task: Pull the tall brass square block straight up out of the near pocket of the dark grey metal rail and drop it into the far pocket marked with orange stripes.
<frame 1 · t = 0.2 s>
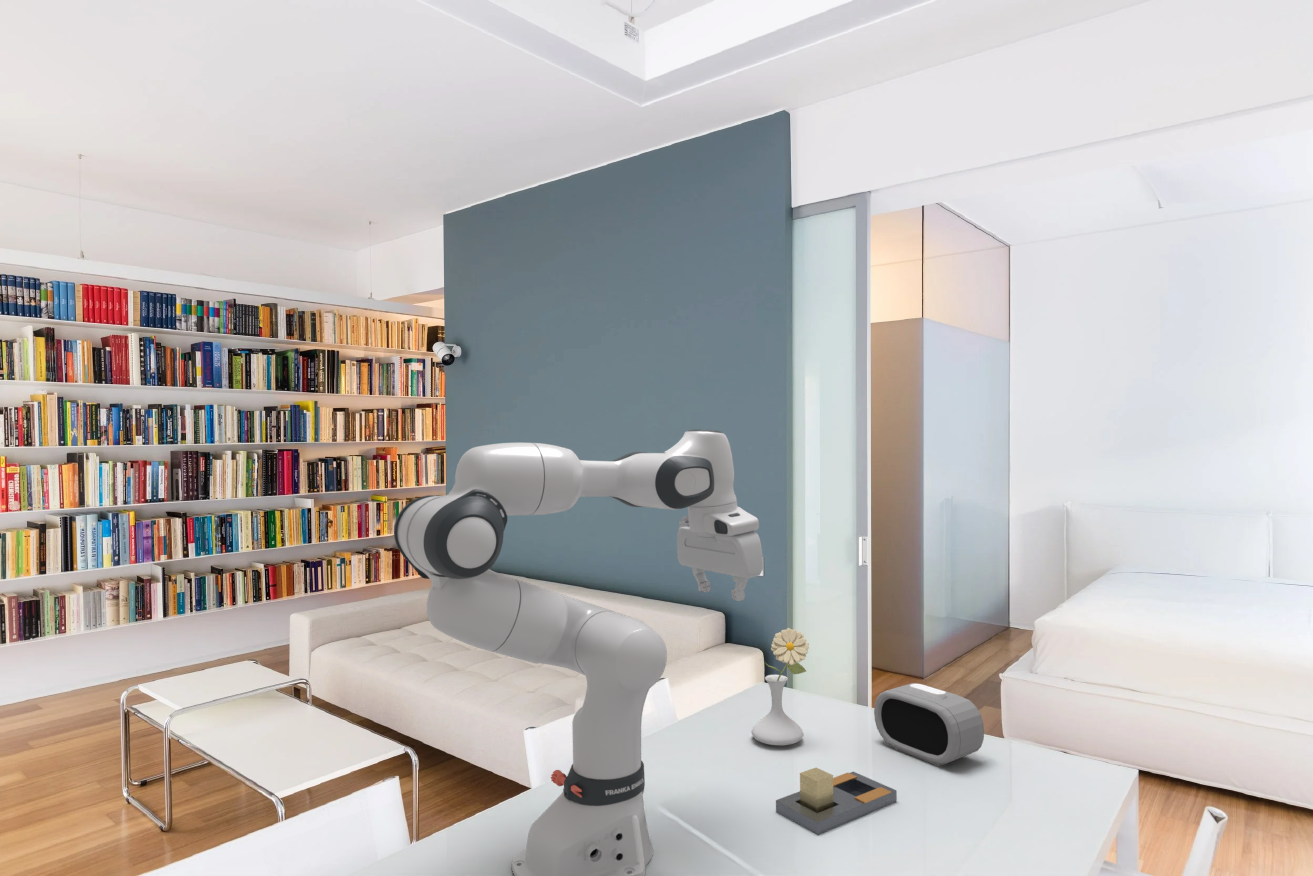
hand: (721, 595, 138), 39 cm above the table, tool pointing down, fingers open, 8 cm apart
flower in vase: (781, 742, 171), on the table
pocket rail: (837, 812, 137), on the table
alarm clock: (927, 754, 163), on the table
brass block: (817, 814, 134), point 1 cm above the table, touching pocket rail
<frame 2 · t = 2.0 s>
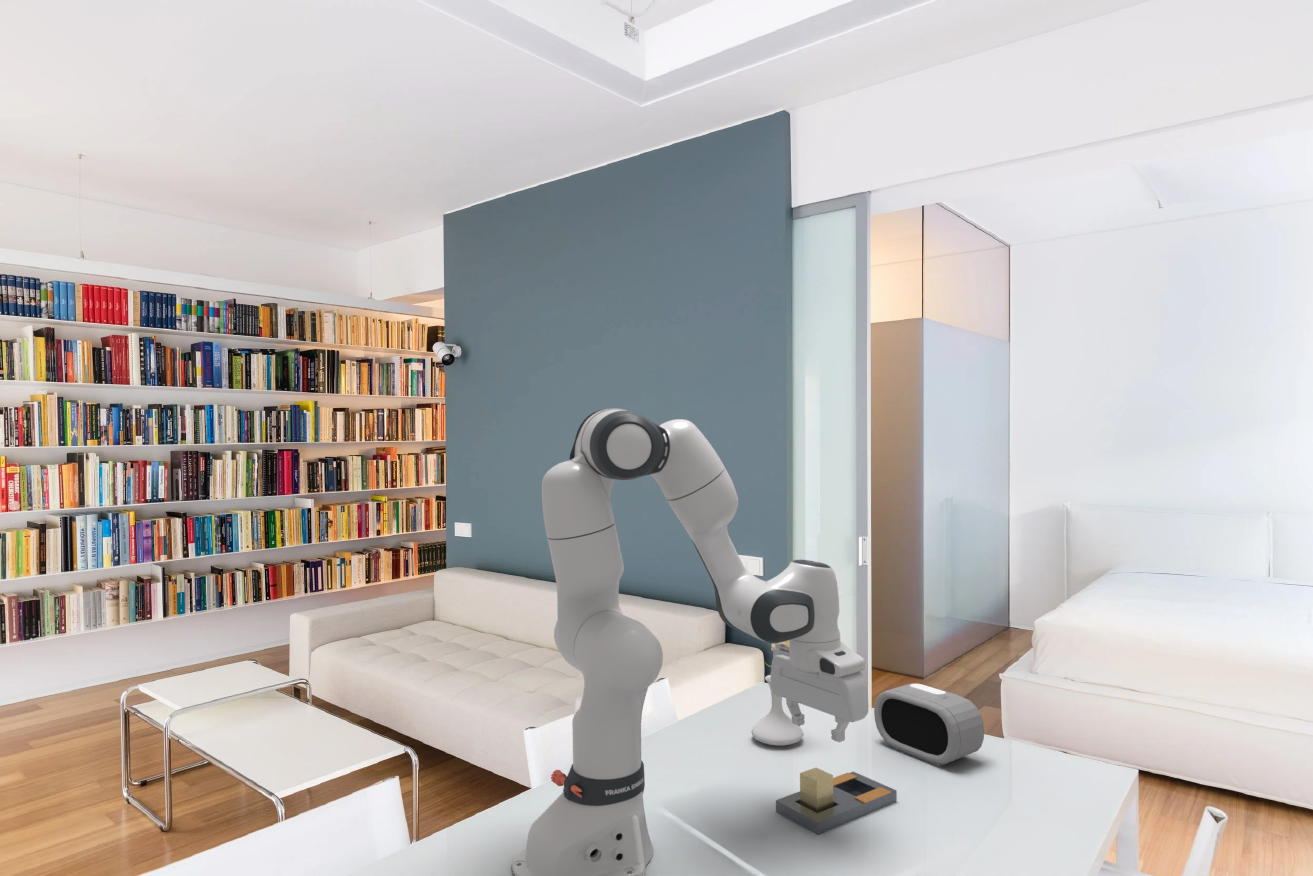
hand: (817, 732, 135), 15 cm above the table, tool pointing down, fingers open, 8 cm apart
nothing on the table moved.
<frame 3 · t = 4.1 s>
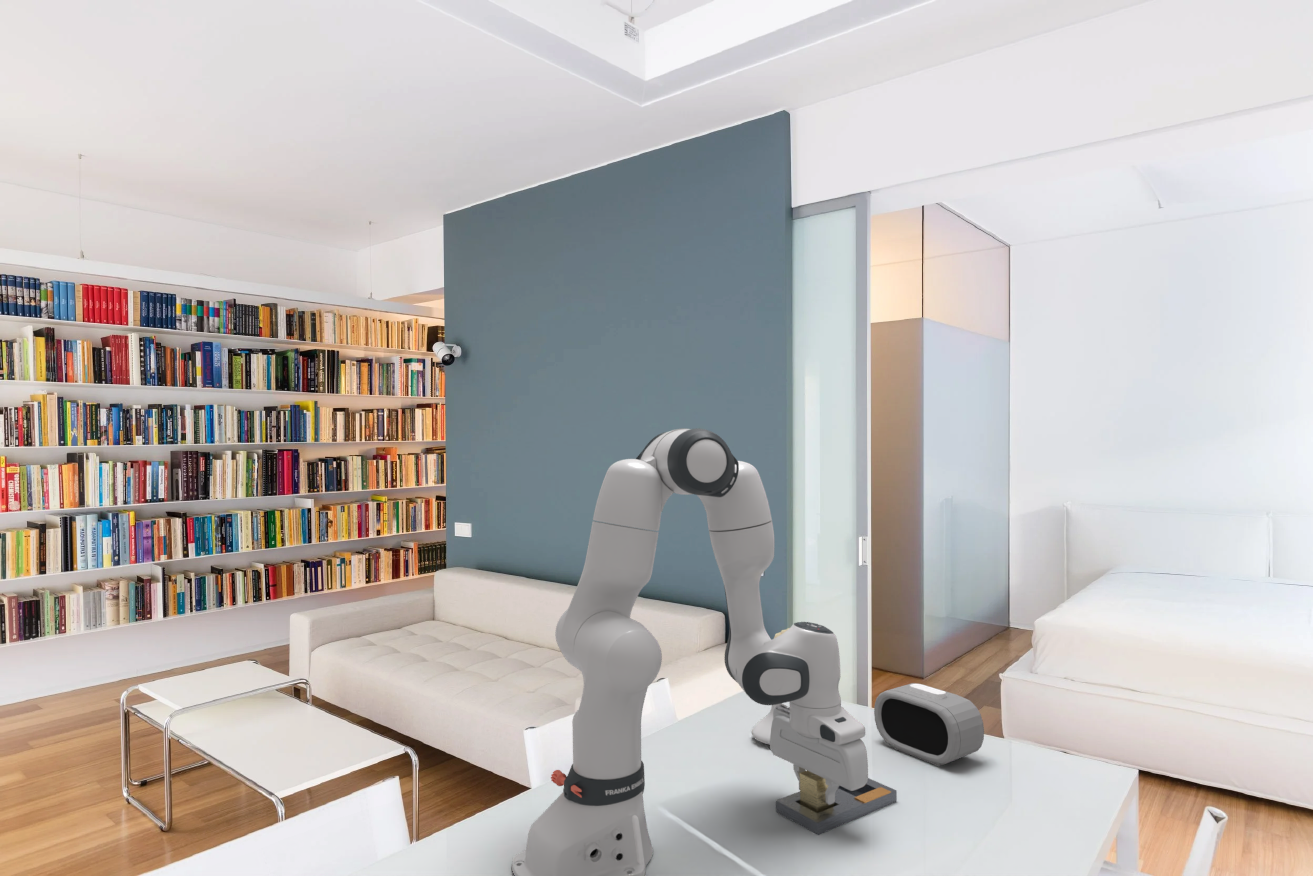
hand: (816, 796, 135), 4 cm above the table, tool pointing down, fingers closed on brass block, 4 cm apart
brass block: (817, 814, 134), point 1 cm above the table, touching gripper, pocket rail
everything else where it was.
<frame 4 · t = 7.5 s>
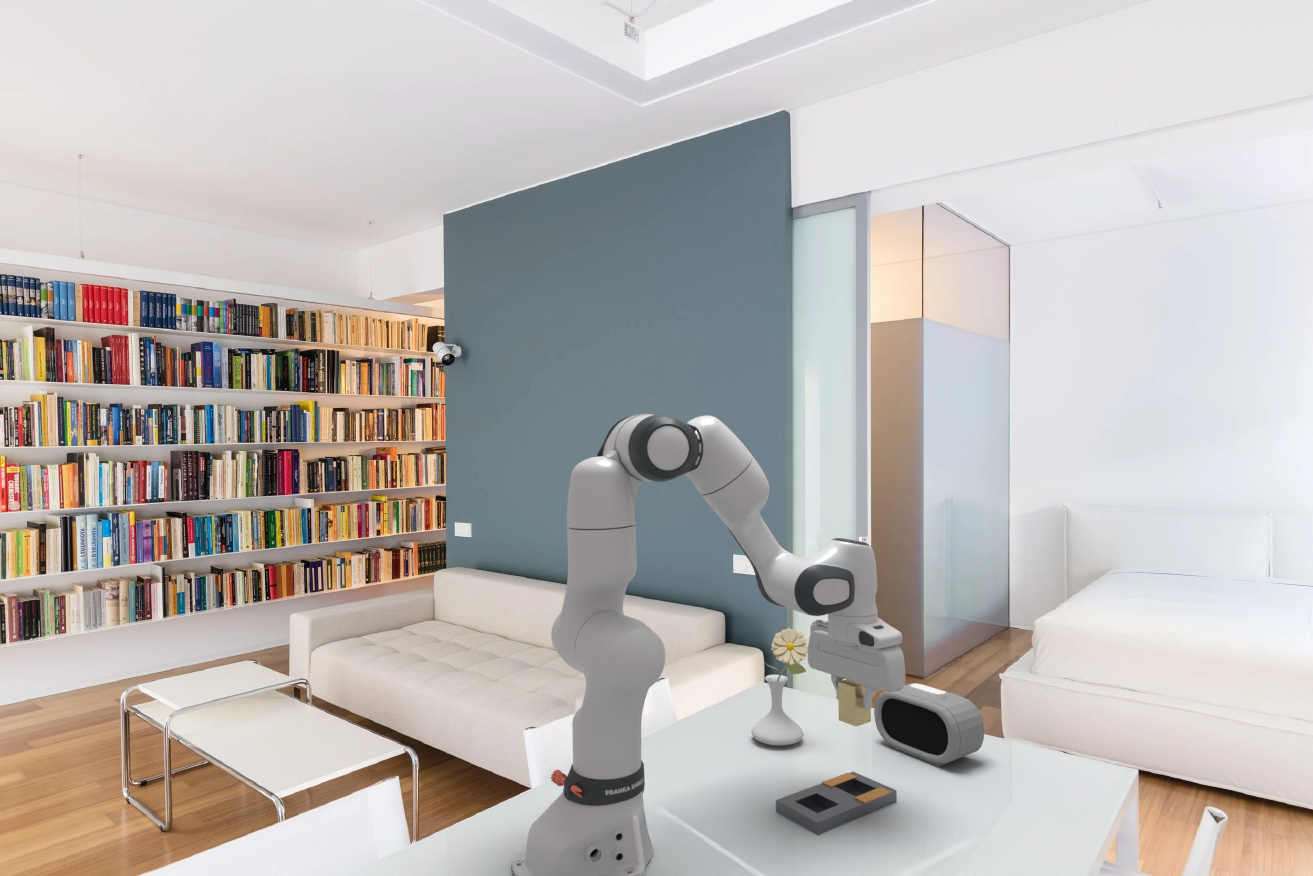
hand: (854, 704, 140), 18 cm above the table, tool pointing down, fingers closed on brass block, 4 cm apart
brass block: (854, 721, 140), point 15 cm above the table, touching gripper
everything else where it was.
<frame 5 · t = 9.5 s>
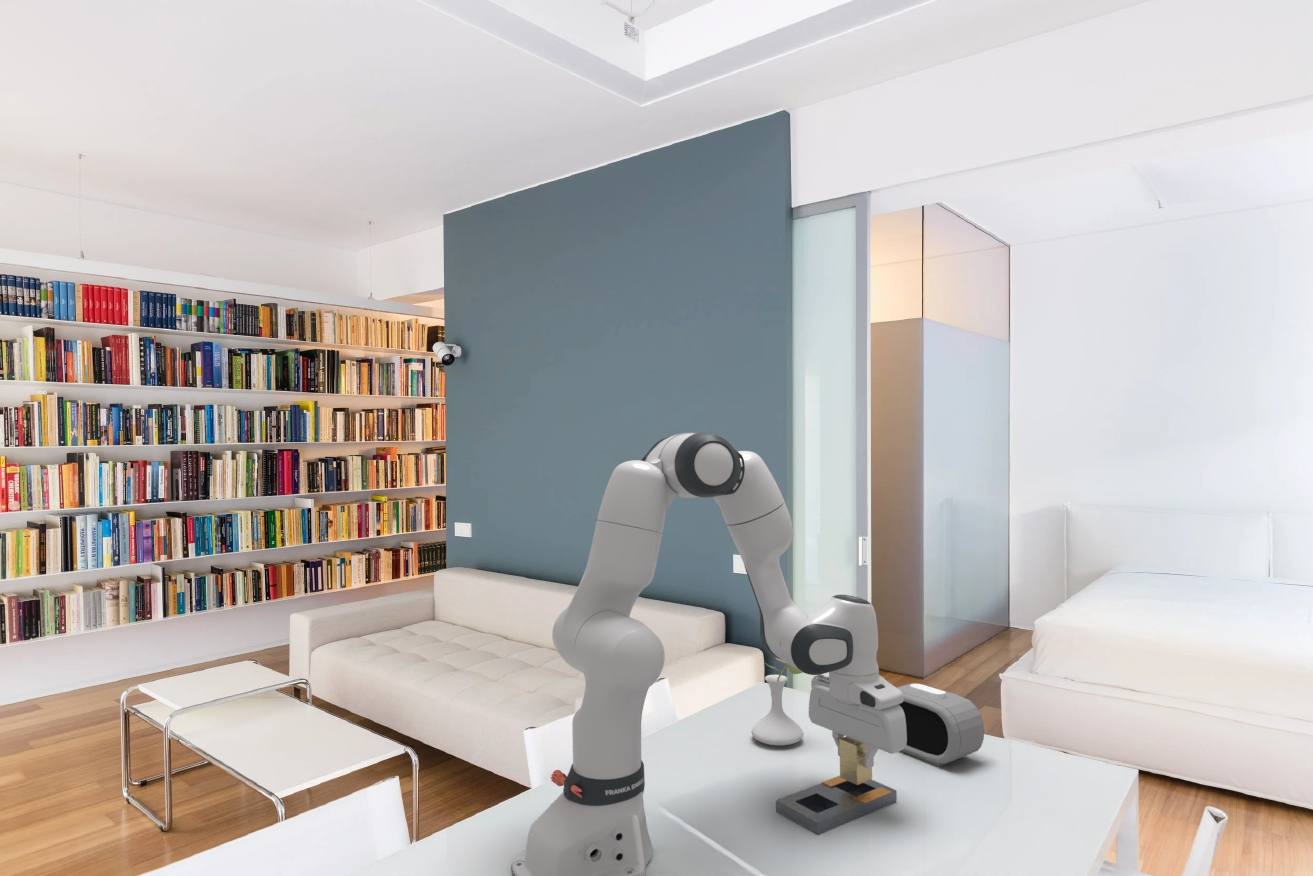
hand: (855, 761, 140), 8 cm above the table, tool pointing down, fingers closed on brass block, 4 cm apart
brass block: (856, 778, 140), point 5 cm above the table, touching gripper
everything else where it was.
when the fingers open (5 cm above the table, at t = 11.0 s): brass block stays where it is, resting on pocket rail.
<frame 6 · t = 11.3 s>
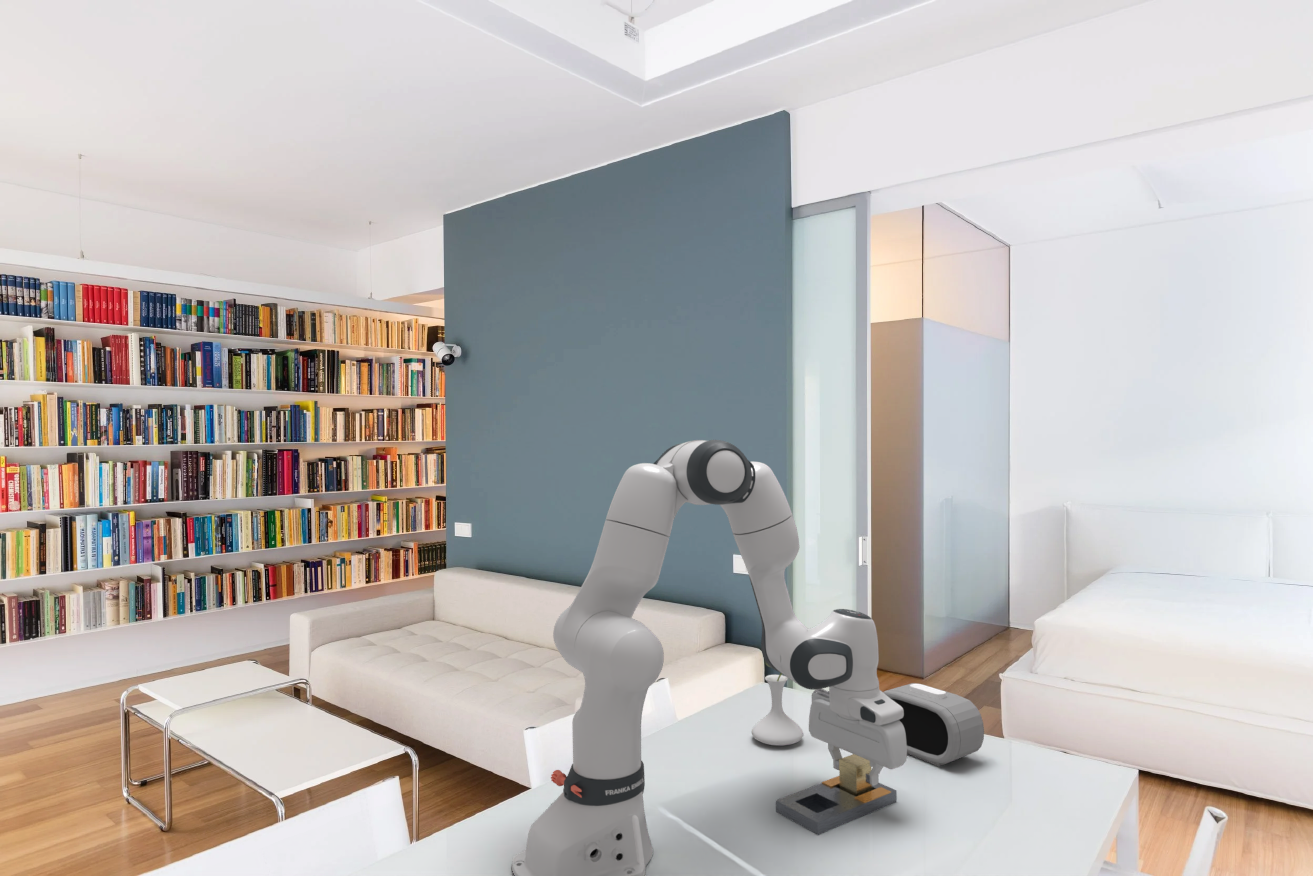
hand: (855, 776, 140), 5 cm above the table, tool pointing down, fingers open, 6 cm apart
brass block: (855, 798, 140), point 1 cm above the table, touching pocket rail
everything else where it was.
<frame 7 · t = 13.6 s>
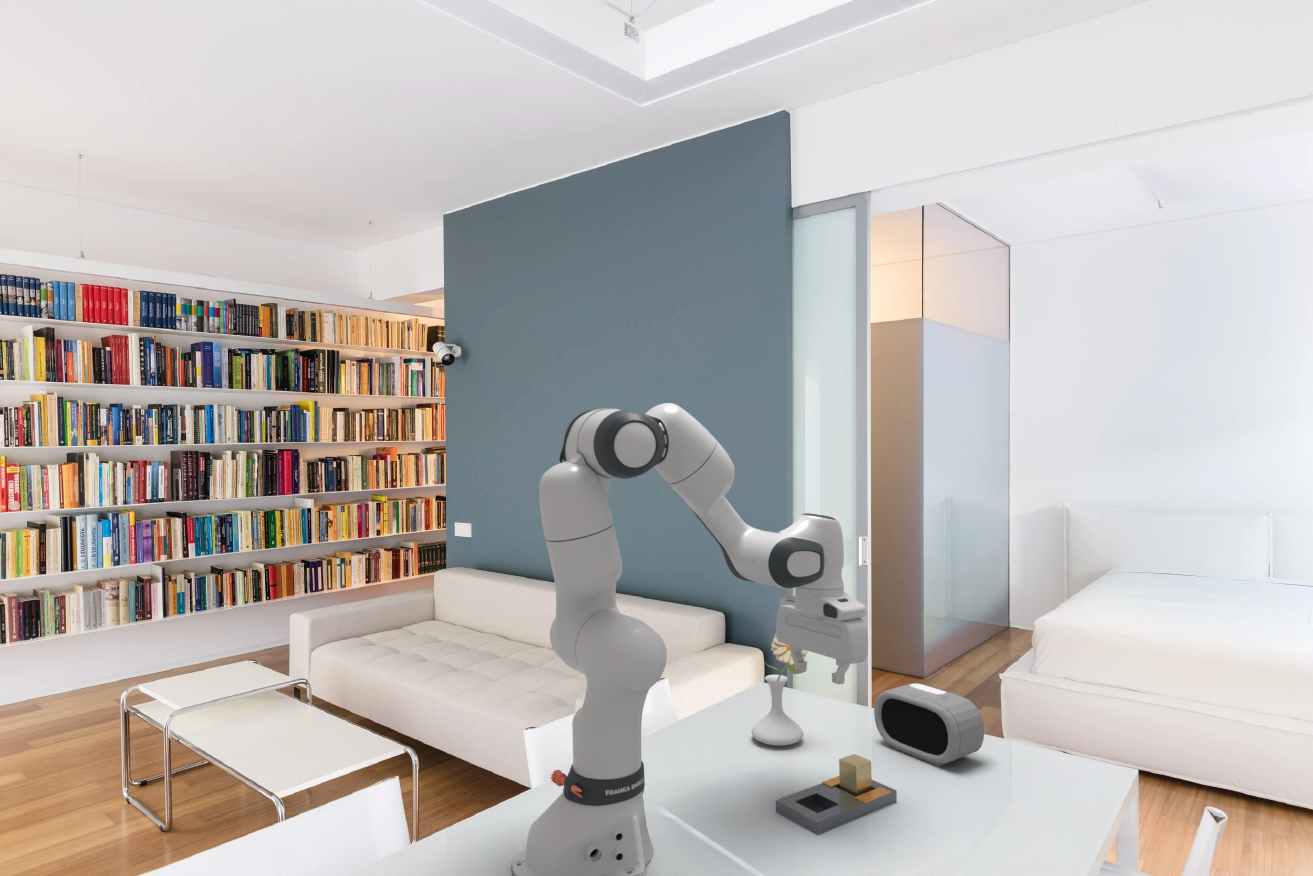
hand: (819, 676, 143), 22 cm above the table, tool pointing down, fingers open, 8 cm apart
nothing on the table moved.
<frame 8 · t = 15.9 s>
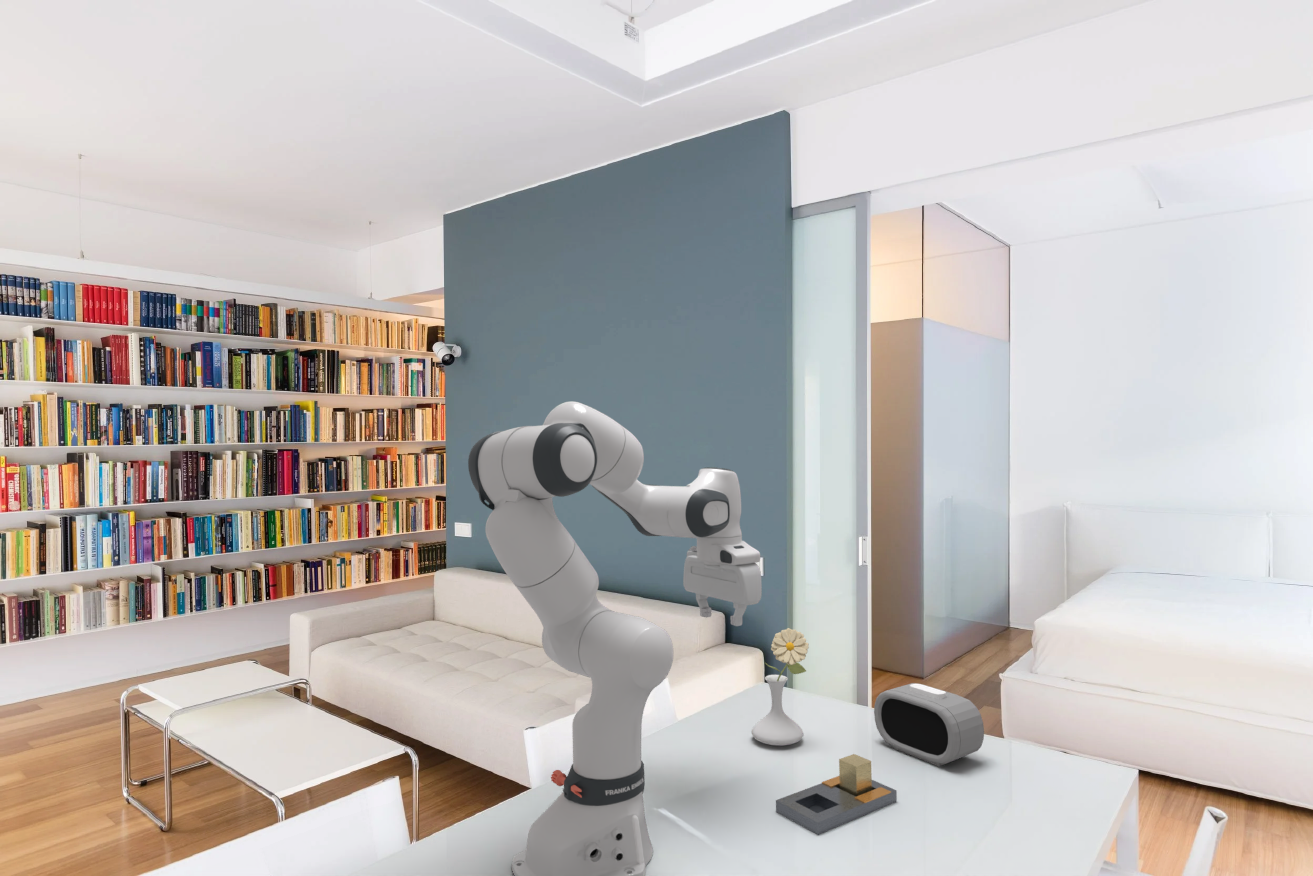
hand: (720, 621, 151), 31 cm above the table, tool pointing down, fingers open, 8 cm apart
nothing on the table moved.
at the end: brass block 0.0 cm from the target spot on the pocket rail, point 1.0 cm above the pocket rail's base; brass block tilted 0°; the gripper is holding nothing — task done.
